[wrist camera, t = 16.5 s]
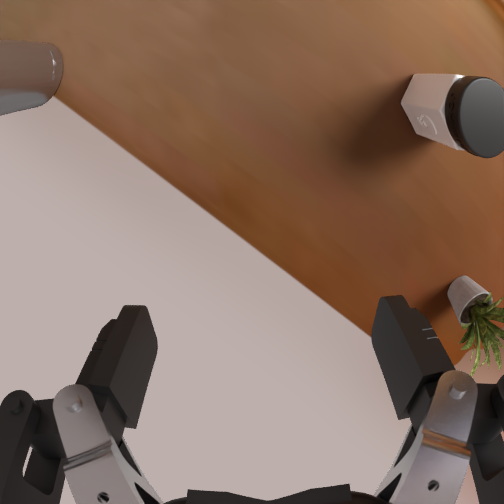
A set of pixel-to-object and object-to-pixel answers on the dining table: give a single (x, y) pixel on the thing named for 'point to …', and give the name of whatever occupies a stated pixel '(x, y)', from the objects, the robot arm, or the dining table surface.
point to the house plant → (477, 317)
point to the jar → (457, 111)
